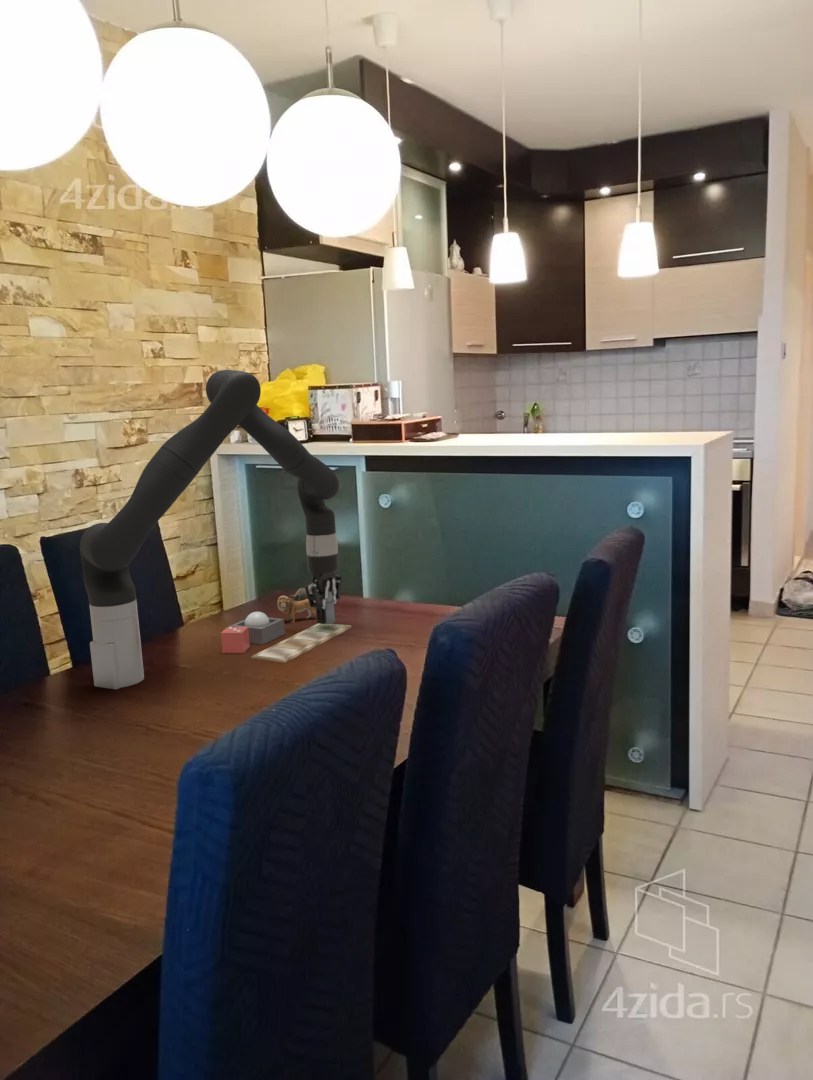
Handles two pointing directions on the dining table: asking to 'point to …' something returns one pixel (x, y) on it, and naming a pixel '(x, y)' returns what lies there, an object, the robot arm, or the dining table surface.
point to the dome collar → (264, 631)
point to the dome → (257, 620)
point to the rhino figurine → (300, 595)
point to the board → (300, 642)
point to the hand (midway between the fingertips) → (326, 620)
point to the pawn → (329, 609)
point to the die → (235, 640)
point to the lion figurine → (294, 607)
